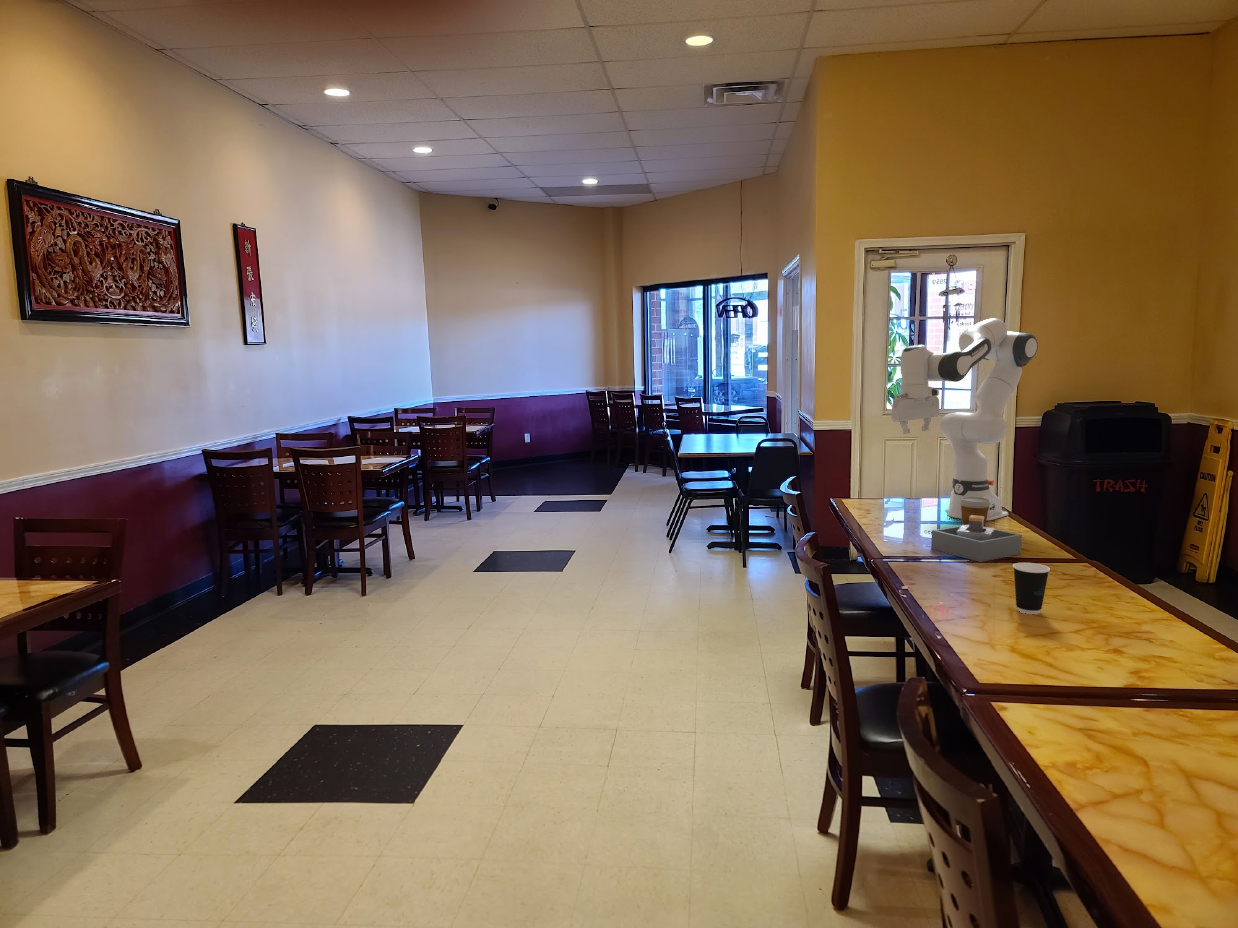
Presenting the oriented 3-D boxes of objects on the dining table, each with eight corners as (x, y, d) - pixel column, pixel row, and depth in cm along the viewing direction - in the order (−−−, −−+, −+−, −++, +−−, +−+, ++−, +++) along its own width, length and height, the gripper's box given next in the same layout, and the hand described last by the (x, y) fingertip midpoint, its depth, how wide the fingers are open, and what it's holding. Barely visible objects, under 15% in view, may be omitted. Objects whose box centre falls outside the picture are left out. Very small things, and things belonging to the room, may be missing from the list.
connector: (969, 539, 242) (971, 515, 241) (983, 541, 240) (984, 516, 239) (967, 542, 239) (969, 517, 238) (981, 543, 237) (982, 518, 236)
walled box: (970, 541, 252) (971, 523, 251) (1020, 553, 236) (1021, 534, 235) (931, 548, 244) (931, 530, 243) (980, 561, 228) (981, 542, 227)
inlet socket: (961, 543, 246) (962, 524, 245) (994, 546, 241) (995, 528, 240) (956, 549, 238) (957, 530, 237) (989, 553, 233) (990, 534, 232)
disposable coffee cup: (993, 536, 257) (995, 501, 256) (965, 537, 258) (966, 502, 256) (981, 530, 267) (982, 496, 265) (953, 530, 267) (955, 496, 265)
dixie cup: (1047, 618, 179) (1050, 573, 178) (1009, 613, 183) (1011, 568, 182) (1047, 608, 186) (1050, 564, 185) (1010, 603, 190) (1013, 560, 189)
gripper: (901, 395, 258) (902, 435, 260) (942, 390, 268) (943, 429, 269) (886, 395, 264) (887, 435, 265) (927, 390, 273) (928, 429, 275)
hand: (915, 432), depth 267 cm, fingers open, 8 cm apart
